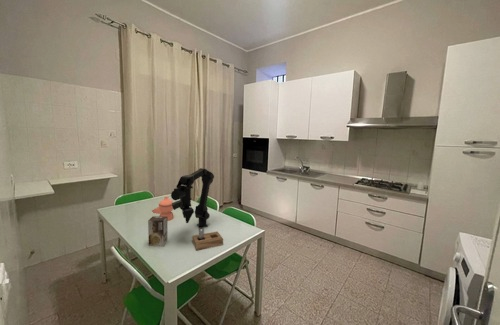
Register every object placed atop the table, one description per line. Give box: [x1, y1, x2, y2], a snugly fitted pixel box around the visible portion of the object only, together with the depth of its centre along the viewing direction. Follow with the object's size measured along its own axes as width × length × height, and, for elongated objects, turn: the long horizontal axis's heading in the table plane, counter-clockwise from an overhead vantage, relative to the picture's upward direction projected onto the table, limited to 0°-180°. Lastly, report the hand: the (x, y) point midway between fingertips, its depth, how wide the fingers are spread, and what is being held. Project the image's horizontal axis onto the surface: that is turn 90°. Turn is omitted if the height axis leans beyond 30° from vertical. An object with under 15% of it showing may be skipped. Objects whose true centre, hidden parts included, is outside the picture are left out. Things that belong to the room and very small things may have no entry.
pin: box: [198, 227, 205, 241], centre depth 121 cm, size 3×3×9 cm
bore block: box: [191, 231, 224, 251], centre depth 124 cm, size 11×16×4 cm
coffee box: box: [147, 215, 169, 247], centre depth 120 cm, size 9×6×16 cm
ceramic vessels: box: [151, 196, 174, 222], centre depth 164 cm, size 35×21×19 cm, turn 37°
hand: (185, 220), depth 128 cm, fingers open, 9 cm apart
